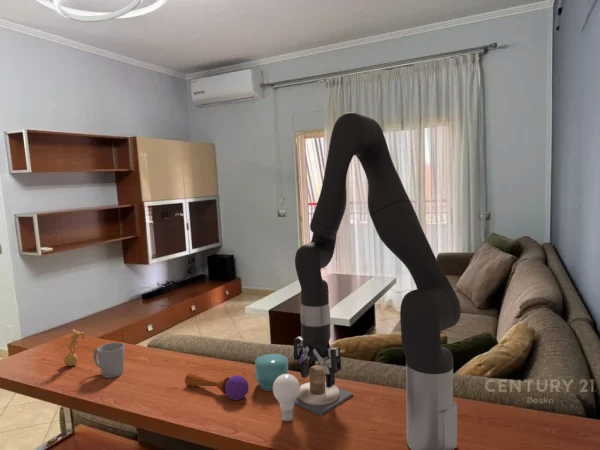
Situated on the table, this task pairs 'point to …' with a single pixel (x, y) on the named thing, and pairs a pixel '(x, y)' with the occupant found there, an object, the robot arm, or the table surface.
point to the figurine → (71, 357)
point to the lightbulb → (286, 394)
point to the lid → (317, 389)
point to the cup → (110, 359)
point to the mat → (324, 408)
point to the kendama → (222, 385)
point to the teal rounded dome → (270, 369)
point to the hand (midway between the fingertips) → (317, 381)
